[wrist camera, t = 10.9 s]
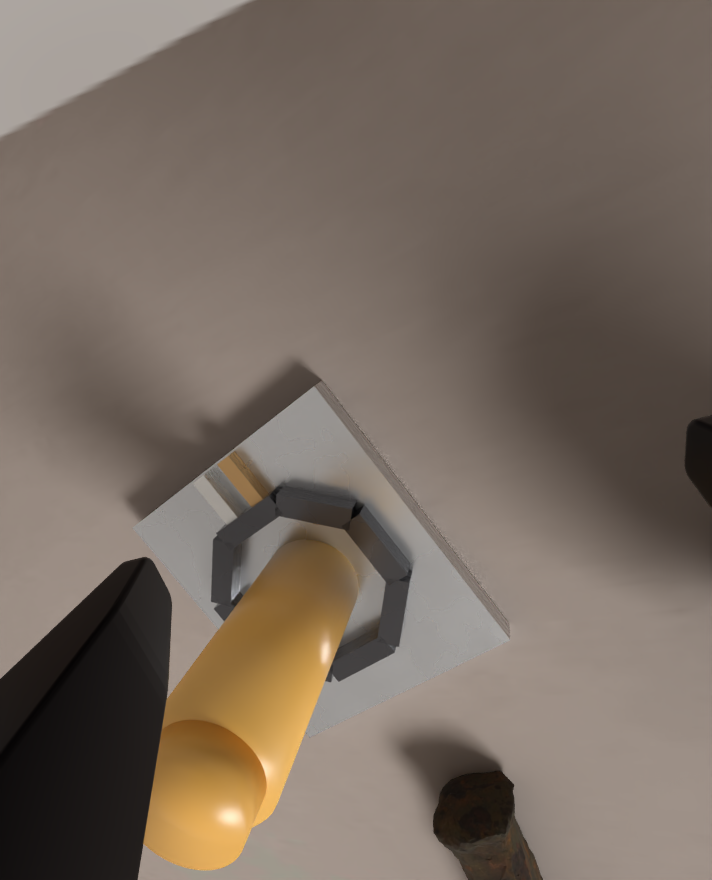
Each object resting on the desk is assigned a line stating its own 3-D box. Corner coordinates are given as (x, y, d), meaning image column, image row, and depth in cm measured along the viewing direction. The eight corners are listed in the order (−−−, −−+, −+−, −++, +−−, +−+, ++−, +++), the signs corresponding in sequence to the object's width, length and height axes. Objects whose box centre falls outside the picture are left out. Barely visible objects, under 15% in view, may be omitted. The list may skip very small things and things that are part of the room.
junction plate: (509, 623, 26) (511, 654, 24) (316, 719, 30) (303, 753, 28) (322, 380, 24) (306, 391, 22) (146, 517, 29) (120, 537, 27)
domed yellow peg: (372, 613, 26) (286, 876, 15) (289, 632, 27) (151, 886, 16) (337, 528, 25) (217, 739, 14) (252, 552, 26) (80, 762, 15)
